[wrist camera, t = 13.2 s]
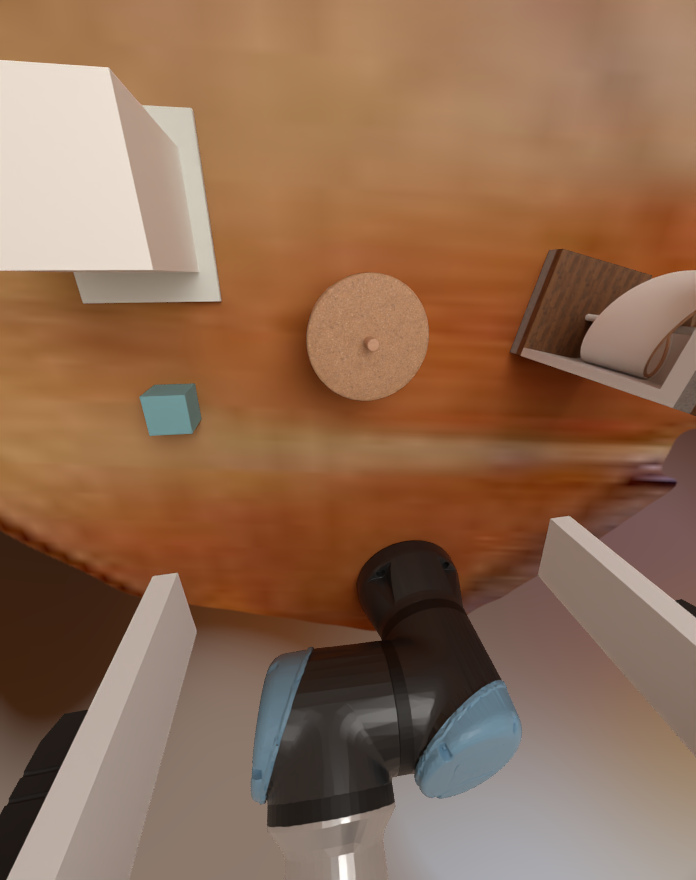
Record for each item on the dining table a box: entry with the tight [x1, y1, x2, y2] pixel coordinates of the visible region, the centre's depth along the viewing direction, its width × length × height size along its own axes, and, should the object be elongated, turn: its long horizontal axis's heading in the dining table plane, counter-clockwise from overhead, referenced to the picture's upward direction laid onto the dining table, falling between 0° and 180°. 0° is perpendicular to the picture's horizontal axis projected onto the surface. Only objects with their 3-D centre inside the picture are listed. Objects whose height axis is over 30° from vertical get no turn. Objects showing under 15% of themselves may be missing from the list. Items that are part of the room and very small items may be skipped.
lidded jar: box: [306, 272, 429, 401], centre depth 32 cm, size 11×11×9 cm
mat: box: [73, 105, 222, 303], centre depth 30 cm, size 14×12×1 cm
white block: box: [0, 60, 199, 273], centre depth 24 cm, size 9×9×12 cm
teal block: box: [140, 384, 201, 436], centre depth 35 cm, size 4×4×4 cm
